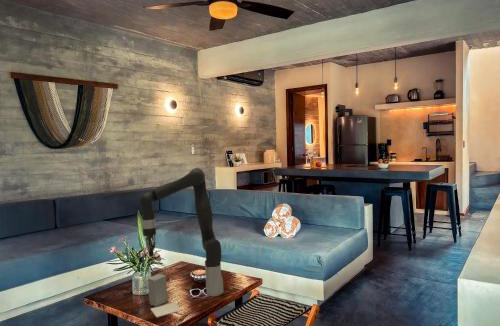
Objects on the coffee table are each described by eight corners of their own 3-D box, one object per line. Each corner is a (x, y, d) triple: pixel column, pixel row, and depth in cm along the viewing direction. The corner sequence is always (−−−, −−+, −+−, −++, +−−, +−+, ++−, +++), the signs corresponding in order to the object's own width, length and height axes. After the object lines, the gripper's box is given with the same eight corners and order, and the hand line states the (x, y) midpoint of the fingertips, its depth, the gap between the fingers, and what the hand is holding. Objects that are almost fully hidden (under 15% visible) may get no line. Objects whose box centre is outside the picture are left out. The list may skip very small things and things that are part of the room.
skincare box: (160, 299, 222) (159, 272, 221) (168, 302, 218) (166, 275, 217) (148, 304, 216) (146, 277, 215) (156, 307, 211) (154, 279, 210)
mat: (175, 302, 216) (175, 302, 216) (182, 310, 206) (182, 309, 206) (150, 309, 209) (150, 308, 209) (156, 317, 199) (156, 316, 199)
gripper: (158, 227, 219) (160, 257, 220) (152, 224, 231) (154, 252, 232) (145, 229, 215) (147, 260, 216) (139, 225, 227) (141, 254, 228)
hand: (151, 255), depth 224 cm, fingers closed
